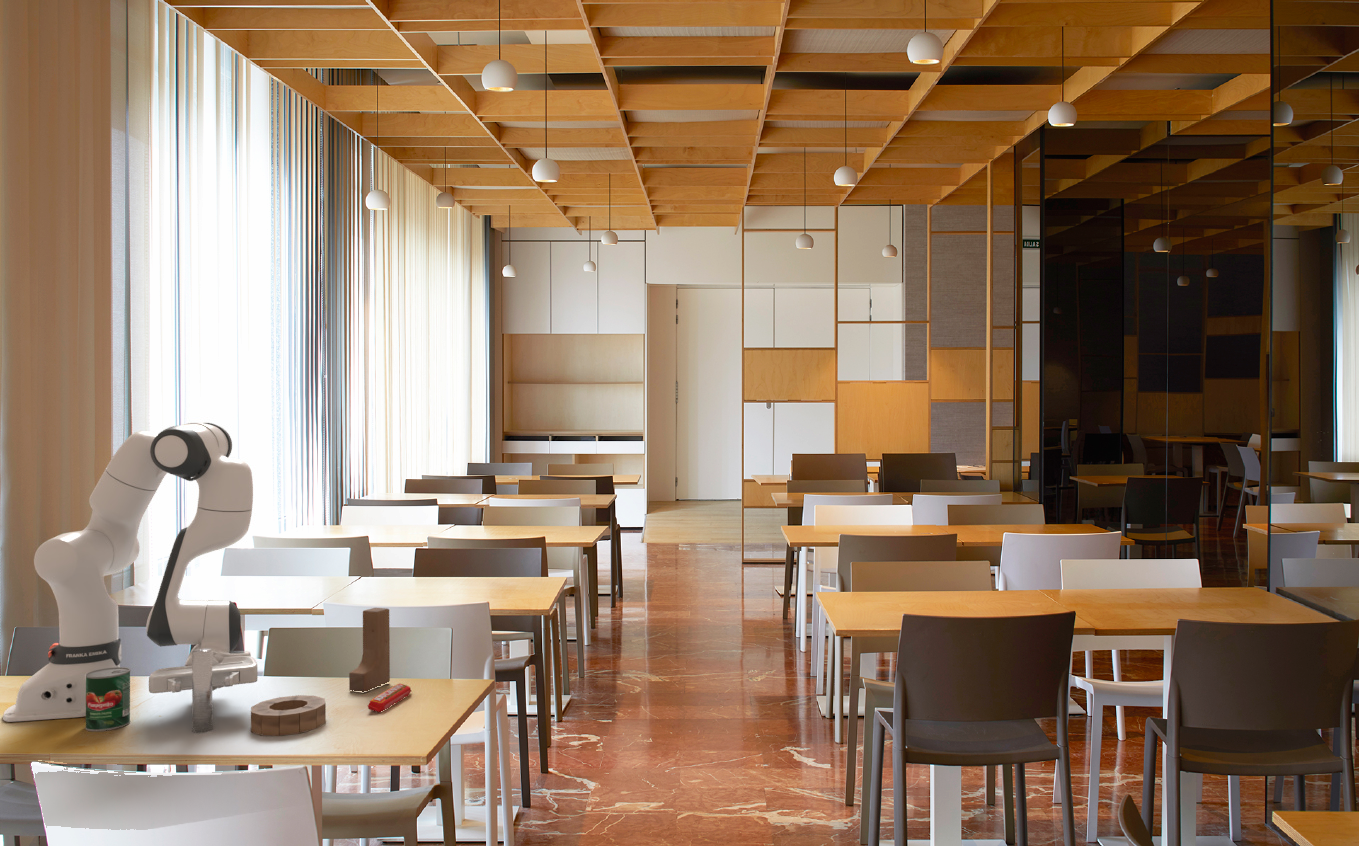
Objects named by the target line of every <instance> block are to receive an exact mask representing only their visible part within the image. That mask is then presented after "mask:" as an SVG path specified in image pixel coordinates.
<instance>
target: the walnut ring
mask: <svg viewBox="0 0 1359 846" xmlns="http://www.w3.org/2000/svg"><path fill="white" fill-rule="evenodd" d="M326 706H327V704H326V698H325V697H321V696H316V695H304V694H303V695H302V694H301V695H298V694H297V695H296V694H295V695H289V696H281V697H280V696H279V697H276V698H271V699H266V700H263V701H260V702H258V703H256V704H254V705H252V706H251V708H250V732H251V733H253V734H257V735H259V736H263V737H264V736H266V737H267V736H270V737H272V736H273V737H282V736H287V735H289V736H290V735H296V734H297V735H298V734H301V733H305V732H309V731H313V730H316V729H317V728H318V729H319V728H320V727H321V726H323V725H324V724H326V720H327V719H326V718H327V717H326V716H327V714H326V713H327V712H326V711H327V710H326Z"/></svg>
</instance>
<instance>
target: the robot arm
mask: <svg viewBox="0 0 1359 846" xmlns="http://www.w3.org/2000/svg"><path fill="white" fill-rule="evenodd" d="M232 450H233V441H232V438H231V436H230V434H229V433H228V431H227V430H225V428H223V427H222V426H220V425H217V424H215V423H211V422H190V423H185V424H181V425H173V426H169V427H167V428H165V429H163V430H161V431H160V432H159V433H156V432H154V431H147V430H145V431H144V430H140V431H136V432H134V433H132V434H130V435H129V436H128V437H127V438H126V439H125V440H124V441H123V443H122V444H121V445H120V446H119V448H118V449H117V450H116V452H115V453H114V455H113V456H112V458H111V459H110V461H108V464H107V466H106V467H105V468H104V471H103V473H102V474H101V476H100V477H99V480H98V482H96V485H95V487H94V489H93V490H92V493H91V494H90V496H89V499H88V502H89V507H91V509H92V511H91V516H90V519H89V522H88V524H87V526H86V527H85V528H84V529H83V530H77V531H70V532H64V533H61V534H58V535H57V536H55V537H54V536H53V537H52V538H49V539H47V540H46V541H44V542H43V543H42V544H40V546H38V548H37V549H36V551H35V553H34V557H33V564H34V570H35V571H36V573H37V575H38V576H39V577H40V578H41V579H43V580H44V581H45V582H46V583H47V584H48V585H49V587H50V588H51V591H52V592H53V595H54V598H55V600H56V601H55V602H56V605H57V609H58V625H59V627H58V629H59V643H58V642H54V643H52V645H50V647H49V649H48V653H47V659H48V663H47V664H46V665H44V666H43V667H42V668H41V669H39V670H38V671H36V672H35V673H34V674H33V675H32V676H30V677H29V678H28V679H26V680H25V681H24V682H23V683H22V684H21V685H20V688H19V690H18V693H17V695H16V701H15V704H13V705H11V706H9V707H7V709H5V710H4V712H3V715H2V719H3V721H4V722H7V723H10V722H12V723H13V722H28V721H41V720H53V719H55V720H57V719H70V718H82V717H86V674H87V673H89V672H92V671H95V670H100V669H105V668H115V667H121V666H120V665H121V662H122V642H121V640H122V639H121V638H120V637H119V605H118V602H117V601H116V600H115V598H112V597H111V596H110V594H109V592H108V589H107V586H106V582H105V576H110V575H114V574H117V573H119V572H121V571H123V570H125V569H126V568H128V567H130V566H131V565H133V563H134V562H135V561H136V560H137V559H138V557H139V554H140V542H139V540H138V533H139V527H140V524H141V521H142V519H143V517H144V514H145V512H146V511H147V508H148V507H149V505H150V503H151V501H152V499H153V498H154V496H155V494H156V493H157V490H158V489H159V487H160V485H161V483H162V482H163V479H164V478H165V477H166V475H167V474H170V475H173V476H176V477H178V478H180V479H183V480H185V481H188V482H193V481H196V483H197V485H198V499H197V500H198V501H197V507H196V508H197V509H196V514H195V516H194V518H193V520H192V521H191V523H190V524H189V525H188V526H186V527H183V528H182V529H180V531H179V532H178V534H177V535H176V538H175V539H174V542H173V545H172V549H171V551H170V554H169V557H168V561H167V564H166V567H165V570H164V573H163V576H162V580H161V583H160V586H159V589H158V593H157V596H156V600H155V601H154V604H153V605H152V608H151V610H150V612H149V614H148V617H147V620H146V625H145V628H146V629H145V630H146V636H147V638H148V639H149V640H150V641H152V642H153V643H154V644H156V645H157V646H159V647H172V646H178V645H187V646H188V645H195V646H194V647H193V648H192V649H191V651H190V652H189V654H188V656H187V659H186V661H185V664H184V666H183V665H182V666H173V667H172V666H171V667H163V668H159V669H156V670H155V671H153V672H152V673H151V674H150V675H149V676H148V692H149V693H151V694H163V693H169V692H171V693H180V692H182V691H189V690H191V691H192V651H194V650H198V649H212V692H213V691H215V690H217V689H221V688H224V687H225V688H227V687H228V688H229V687H233V686H237V685H244V684H254V683H256V682H258V678H259V677H258V675H259V674H258V673H259V672H258V671H259V670H258V662H257V660H256V658H254V657H252V655H251V651H247V650H246V651H244V650H234V649H236V647H238V644H239V640H240V635H241V627H242V623H241V622H242V621H241V620H242V619H241V618H242V617H241V612H240V609H239V608H238V607H237V605H236V604H235V603H234V602H233V601H231V600H213V599H212V600H211V599H210V600H209V599H208V600H186V599H185V600H184V599H180V598H179V594H180V589H181V586H182V582H183V580H184V576H185V574H186V570H187V567H188V565H189V564H190V562H192V561H193V560H195V559H196V558H198V557H200V556H202V555H205V554H208V553H212V552H216V551H218V550H219V551H220V550H223V549H226V548H227V547H229V546H233V544H236V543H237V542H239V541H240V540H241V539H243V538H244V537H245V536H246V534H247V533H248V531H249V528H250V524H251V520H252V519H251V518H252V513H253V501H254V485H253V474H252V470H251V467H250V466H249V465H248V464H247V463H246V462H244V461H242V460H241V459H237V458H235V457H234V458H233V457H230V455H231V453H232Z"/></svg>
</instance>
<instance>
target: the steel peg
mask: <svg viewBox="0 0 1359 846" xmlns="http://www.w3.org/2000/svg"><path fill="white" fill-rule="evenodd" d="M191 692H192V693H191V696H192V697H191V699H192V700H191V701H192V703H191V704H192V705H191V706H192V707H191V709H192V712H191V713H192V715H191V716H192V720H191V721H192V723H191V724H192V727H191V728H192V732H193V733H194V732H196V733H197V734H199V733H201V732H202V733H207V732H209V731H212V730H213V691H212V649H198V650H194V651H192V689H191ZM196 733H195V734H196Z"/></svg>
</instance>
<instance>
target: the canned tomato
mask: <svg viewBox="0 0 1359 846" xmlns="http://www.w3.org/2000/svg"><path fill="white" fill-rule="evenodd" d="M130 718H131V668H129V667H125V666H124V667H123V666H122V667H121V666H120V667H115V668H105V669H100V670H95V671H92V672H89V673H87V674H86V716H85V727H84V728H85V731H88V732H106V730H107V731H111V730H117V729H120V728H119V727H121V728H123V726H124V727H126V726H127V724H128V725H129V724H130V723H131V719H130ZM125 725H126V726H125Z"/></svg>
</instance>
